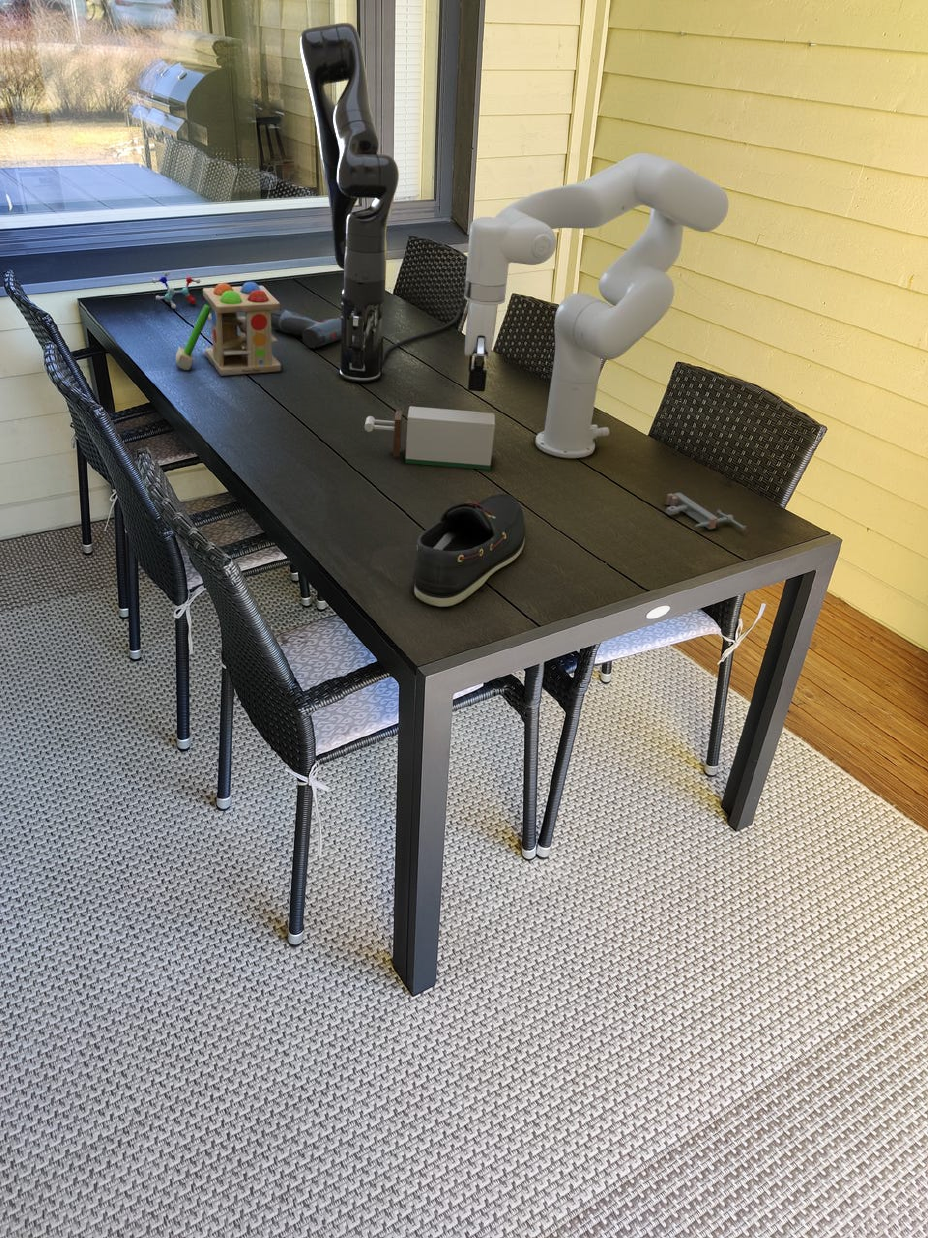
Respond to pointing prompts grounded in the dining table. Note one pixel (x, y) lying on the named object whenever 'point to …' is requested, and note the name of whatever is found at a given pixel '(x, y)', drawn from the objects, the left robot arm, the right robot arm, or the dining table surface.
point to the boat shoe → (467, 548)
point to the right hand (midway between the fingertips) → (476, 381)
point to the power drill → (307, 327)
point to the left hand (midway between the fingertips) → (362, 360)
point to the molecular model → (172, 292)
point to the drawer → (397, 429)
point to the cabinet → (449, 438)
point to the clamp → (677, 506)
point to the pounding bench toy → (229, 347)
